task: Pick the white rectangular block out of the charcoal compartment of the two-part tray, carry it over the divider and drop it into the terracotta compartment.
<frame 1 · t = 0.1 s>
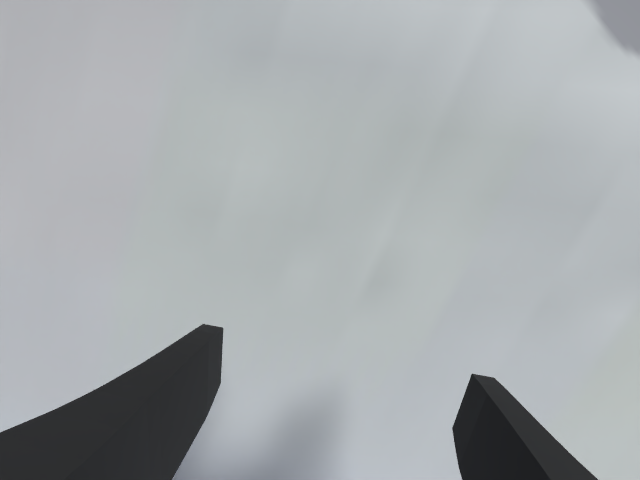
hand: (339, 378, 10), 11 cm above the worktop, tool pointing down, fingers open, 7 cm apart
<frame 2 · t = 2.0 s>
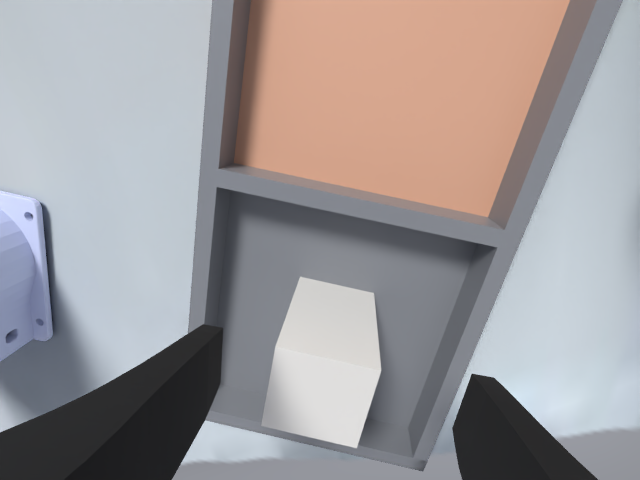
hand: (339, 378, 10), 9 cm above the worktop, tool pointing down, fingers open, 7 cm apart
white rectangular block: (329, 316, 19), point 1 cm above the worktop, touching tray
tray: (357, 193, 18), on the worktop
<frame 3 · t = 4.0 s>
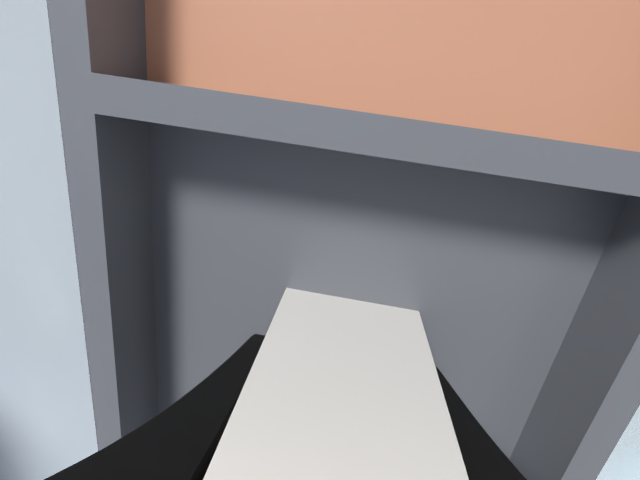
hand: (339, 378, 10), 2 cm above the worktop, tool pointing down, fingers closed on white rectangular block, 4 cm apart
white rectangular block: (341, 353, 11), point 1 cm above the worktop, touching gripper, tray
tray: (381, 131, 10), on the worktop
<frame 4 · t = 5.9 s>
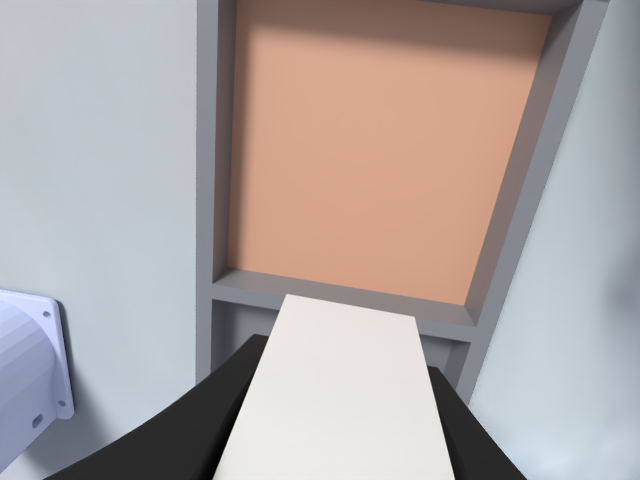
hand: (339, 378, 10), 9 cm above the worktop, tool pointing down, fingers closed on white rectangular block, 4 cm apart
white rectangular block: (339, 356, 12), point 8 cm above the worktop, touching gripper
tray: (342, 284, 19), on the worktop
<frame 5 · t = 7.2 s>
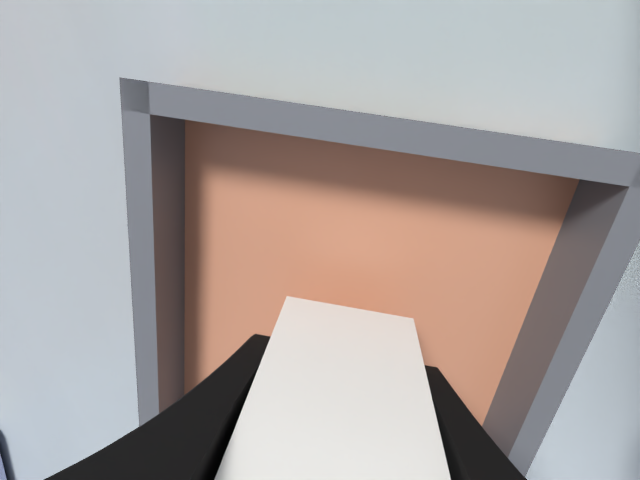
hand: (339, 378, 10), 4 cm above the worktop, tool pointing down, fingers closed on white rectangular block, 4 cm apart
white rectangular block: (339, 357, 12), point 3 cm above the worktop, touching gripper
tray: (322, 430, 16), on the worktop
when the fingers open (4 cm above the worktop, at t = 8.0 s): white rectangular block drops 2 cm, resting on tray.
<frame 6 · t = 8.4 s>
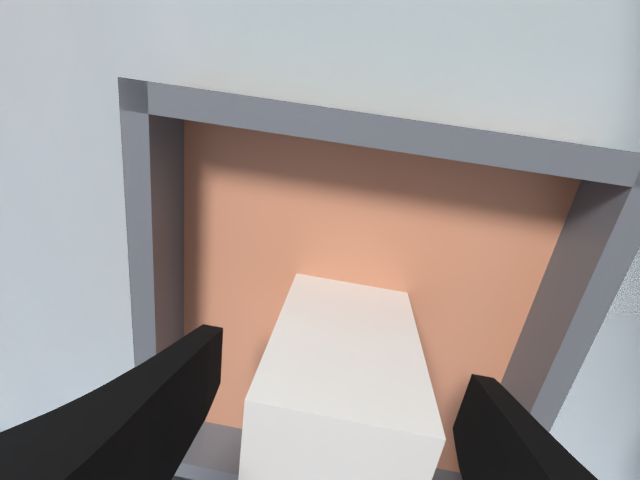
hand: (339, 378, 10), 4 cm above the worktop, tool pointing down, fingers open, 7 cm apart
white rectangular block: (342, 330, 13), point 1 cm above the worktop, touching tray
tray: (321, 432, 16), on the worktop
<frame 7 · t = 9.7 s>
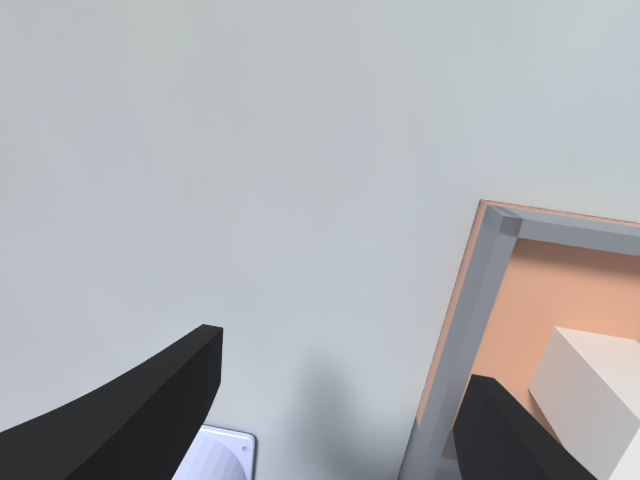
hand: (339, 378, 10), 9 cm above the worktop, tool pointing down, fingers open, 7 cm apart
white rectangular block: (579, 365, 18), point 1 cm above the worktop, touching tray
tray: (530, 437, 22), on the worktop
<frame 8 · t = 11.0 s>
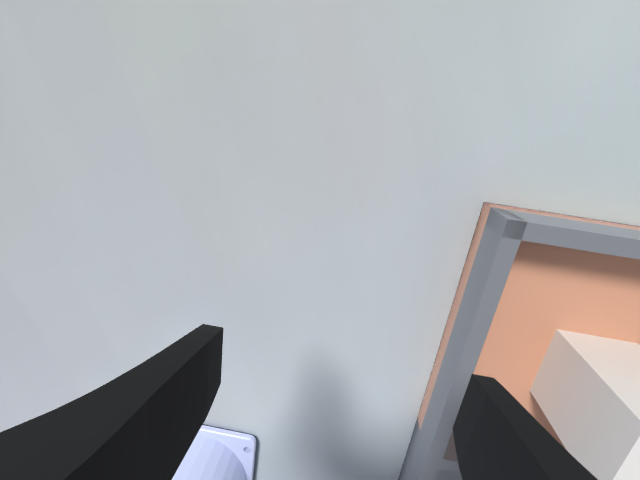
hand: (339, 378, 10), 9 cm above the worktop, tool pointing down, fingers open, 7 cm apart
white rectangular block: (581, 367, 19), point 1 cm above the worktop, touching tray
tray: (531, 439, 22), on the worktop
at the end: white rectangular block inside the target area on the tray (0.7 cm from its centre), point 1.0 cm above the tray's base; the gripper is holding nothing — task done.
